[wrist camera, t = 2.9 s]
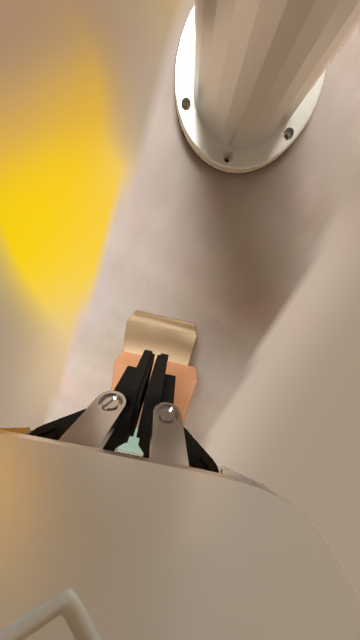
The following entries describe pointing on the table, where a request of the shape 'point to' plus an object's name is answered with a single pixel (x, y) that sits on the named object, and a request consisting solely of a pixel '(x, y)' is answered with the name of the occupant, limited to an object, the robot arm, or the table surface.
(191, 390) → the card
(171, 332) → the sheet
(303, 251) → the table surface
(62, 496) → the robot arm
